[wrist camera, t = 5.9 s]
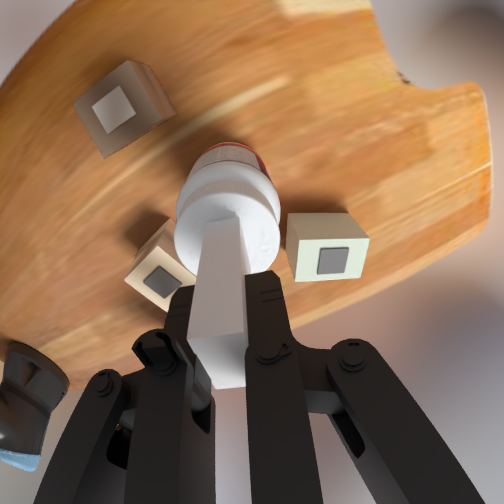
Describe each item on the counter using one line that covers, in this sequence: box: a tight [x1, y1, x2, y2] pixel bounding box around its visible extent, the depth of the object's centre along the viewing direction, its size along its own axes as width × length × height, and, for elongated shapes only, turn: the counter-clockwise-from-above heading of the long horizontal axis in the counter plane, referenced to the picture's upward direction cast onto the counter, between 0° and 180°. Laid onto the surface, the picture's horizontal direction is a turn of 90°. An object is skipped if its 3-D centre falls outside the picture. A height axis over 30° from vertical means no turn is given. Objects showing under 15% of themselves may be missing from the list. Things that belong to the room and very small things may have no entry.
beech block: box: [124, 218, 197, 312], centre depth 24 cm, size 5×5×5 cm
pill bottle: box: [174, 142, 280, 276], centre depth 18 cm, size 6×6×11 cm
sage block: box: [285, 213, 370, 282], centre depth 24 cm, size 6×4×5 cm, turn 90°
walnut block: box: [73, 60, 177, 159], centre depth 16 cm, size 5×5×5 cm
